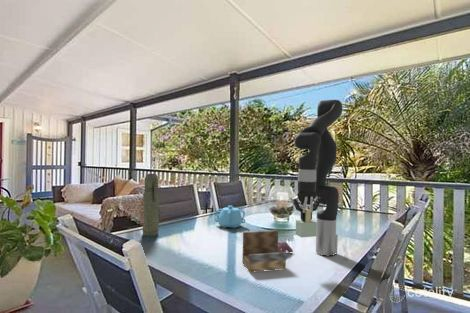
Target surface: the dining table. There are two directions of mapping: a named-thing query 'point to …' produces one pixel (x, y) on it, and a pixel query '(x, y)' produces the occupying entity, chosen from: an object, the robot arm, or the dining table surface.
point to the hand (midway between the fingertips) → (306, 220)
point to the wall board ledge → (262, 251)
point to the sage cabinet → (306, 226)
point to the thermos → (151, 206)
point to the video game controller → (284, 247)
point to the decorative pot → (230, 217)
